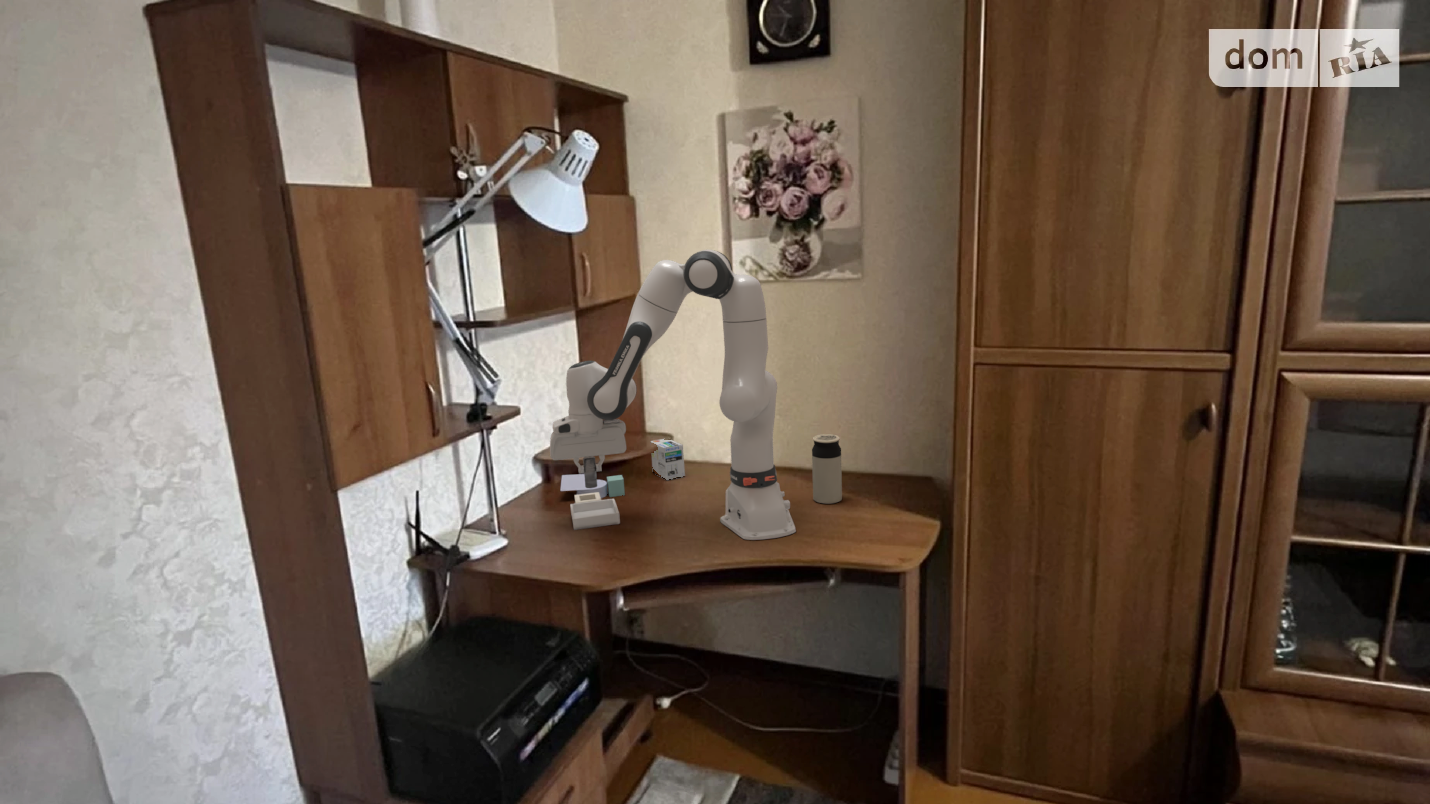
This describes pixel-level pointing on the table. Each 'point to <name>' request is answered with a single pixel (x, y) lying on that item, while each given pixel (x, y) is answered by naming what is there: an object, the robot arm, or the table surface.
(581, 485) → the wedge on round base
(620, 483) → the block
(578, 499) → the socket block
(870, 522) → the table surface
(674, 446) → the light bulb box
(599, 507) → the tray
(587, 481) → the pin
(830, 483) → the travel mug
